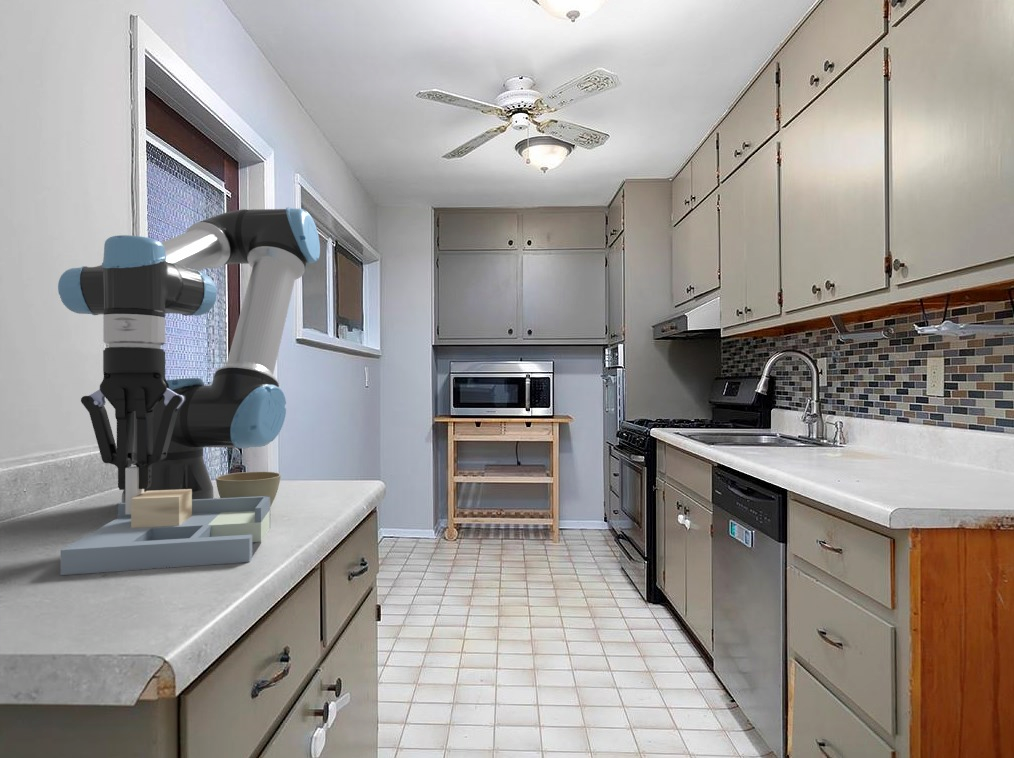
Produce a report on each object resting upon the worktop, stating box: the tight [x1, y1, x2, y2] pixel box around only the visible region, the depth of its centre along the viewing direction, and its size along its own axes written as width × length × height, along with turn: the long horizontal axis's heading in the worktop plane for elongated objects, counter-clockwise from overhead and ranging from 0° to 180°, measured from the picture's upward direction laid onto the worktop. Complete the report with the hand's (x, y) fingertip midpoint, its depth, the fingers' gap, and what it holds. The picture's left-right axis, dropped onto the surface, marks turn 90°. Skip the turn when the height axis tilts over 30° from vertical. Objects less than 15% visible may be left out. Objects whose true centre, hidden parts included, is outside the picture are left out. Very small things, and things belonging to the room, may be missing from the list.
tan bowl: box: [215, 471, 282, 508], centre depth 100 cm, size 10×10×7 cm
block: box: [131, 489, 192, 528], centre depth 85 cm, size 6×6×4 cm
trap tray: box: [60, 496, 271, 576], centre depth 82 cm, size 18×21×5 cm
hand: (135, 511), depth 85 cm, fingers closed
